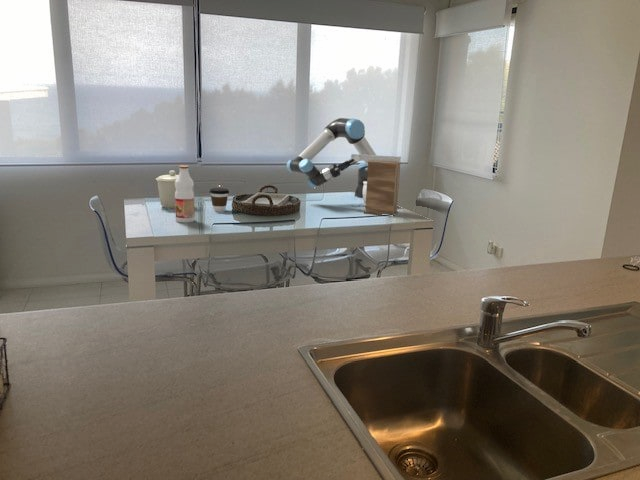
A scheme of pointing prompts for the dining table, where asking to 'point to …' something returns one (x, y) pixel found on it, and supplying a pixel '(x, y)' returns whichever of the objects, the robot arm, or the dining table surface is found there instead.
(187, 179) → the fruit juice
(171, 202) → the canister
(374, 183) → the walnut tower
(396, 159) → the steel bar
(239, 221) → the dining table surface
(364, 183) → the jar
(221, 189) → the coffee cup
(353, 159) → the robot arm
